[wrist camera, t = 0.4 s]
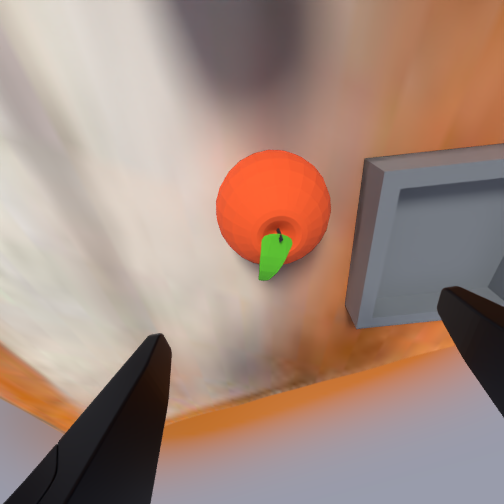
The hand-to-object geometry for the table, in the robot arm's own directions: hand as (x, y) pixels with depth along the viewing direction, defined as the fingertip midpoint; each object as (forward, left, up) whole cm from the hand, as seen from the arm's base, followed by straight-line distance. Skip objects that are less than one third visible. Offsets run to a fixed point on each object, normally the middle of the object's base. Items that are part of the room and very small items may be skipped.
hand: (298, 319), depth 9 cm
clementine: (0, +1, -13) cm, 13 cm away
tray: (-14, +6, -13) cm, 20 cm away
